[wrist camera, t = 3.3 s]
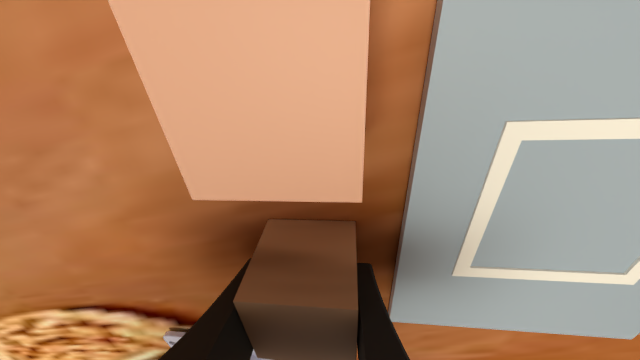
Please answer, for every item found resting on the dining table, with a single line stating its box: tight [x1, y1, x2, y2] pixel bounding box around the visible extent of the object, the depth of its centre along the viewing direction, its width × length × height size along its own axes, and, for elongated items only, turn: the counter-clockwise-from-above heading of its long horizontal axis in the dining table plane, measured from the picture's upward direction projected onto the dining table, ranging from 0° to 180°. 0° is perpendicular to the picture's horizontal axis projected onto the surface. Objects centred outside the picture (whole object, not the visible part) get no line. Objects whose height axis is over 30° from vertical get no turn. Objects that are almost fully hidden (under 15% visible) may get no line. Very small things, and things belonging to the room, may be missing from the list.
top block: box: [108, 0, 370, 203], centre depth 6 cm, size 4×4×4 cm
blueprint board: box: [388, 0, 640, 339], centre depth 9 cm, size 16×12×1 cm
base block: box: [233, 219, 358, 360], centre depth 10 cm, size 4×4×4 cm
